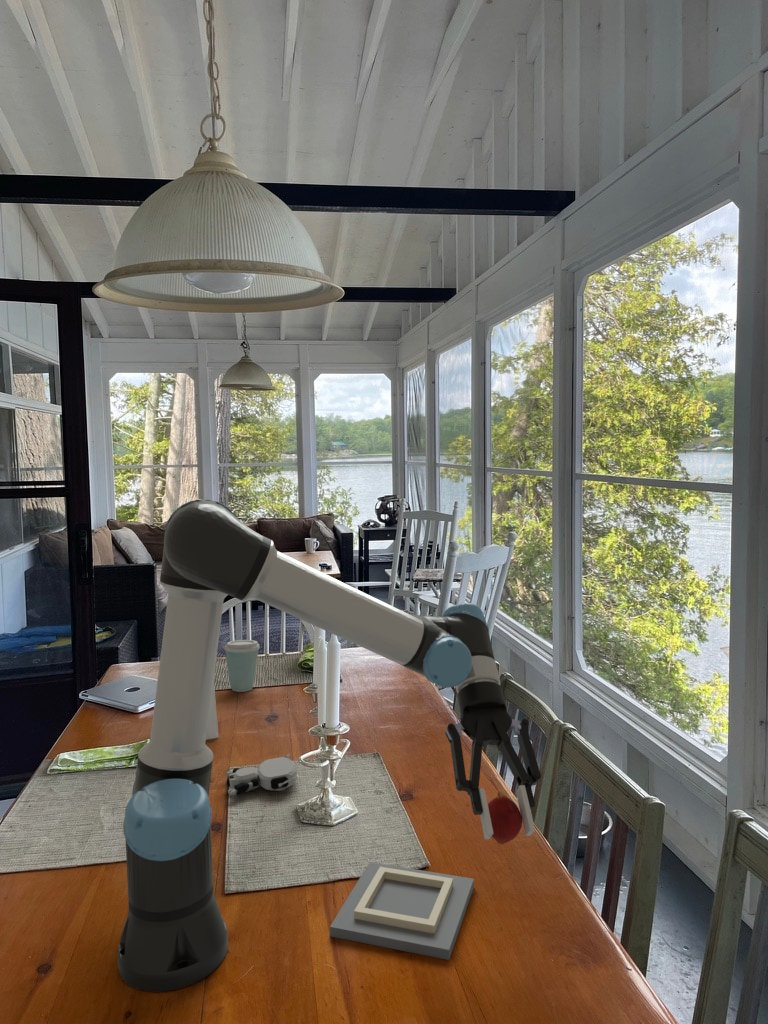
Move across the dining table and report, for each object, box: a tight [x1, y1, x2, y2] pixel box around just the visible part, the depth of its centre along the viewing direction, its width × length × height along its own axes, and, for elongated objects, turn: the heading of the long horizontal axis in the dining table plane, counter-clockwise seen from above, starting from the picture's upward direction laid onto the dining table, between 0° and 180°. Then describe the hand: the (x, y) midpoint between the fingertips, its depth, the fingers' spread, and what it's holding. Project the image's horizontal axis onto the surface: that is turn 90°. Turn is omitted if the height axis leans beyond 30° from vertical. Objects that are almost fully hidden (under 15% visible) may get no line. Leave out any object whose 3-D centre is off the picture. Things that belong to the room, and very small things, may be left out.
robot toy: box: [226, 754, 298, 796], centre depth 158 cm, size 12×4×15 cm
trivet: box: [329, 861, 475, 961], centre depth 114 cm, size 18×18×3 cm
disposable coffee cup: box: [223, 639, 261, 693], centre depth 225 cm, size 11×11×15 cm
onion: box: [487, 791, 523, 845], centre depth 111 cm, size 6×6×8 cm
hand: (509, 834), depth 107 cm, fingers closed on onion, 6 cm apart
